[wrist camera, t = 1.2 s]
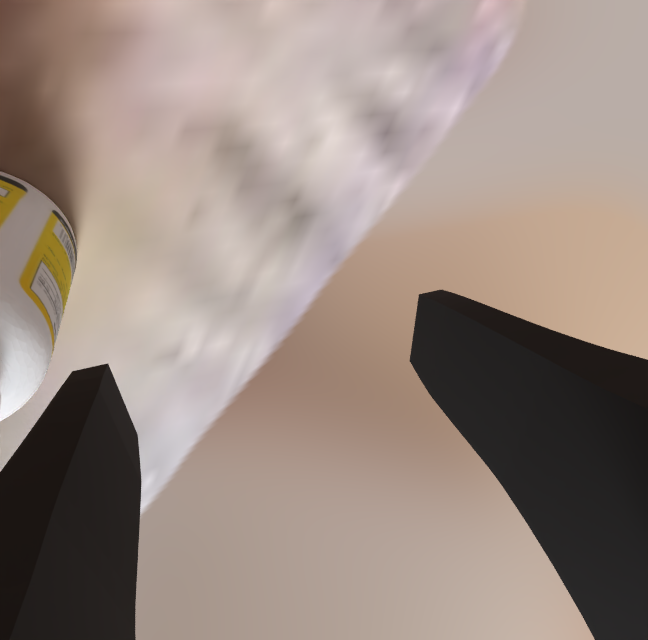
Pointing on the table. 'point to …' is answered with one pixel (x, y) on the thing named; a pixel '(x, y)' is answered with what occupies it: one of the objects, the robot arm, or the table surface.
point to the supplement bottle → (30, 287)
